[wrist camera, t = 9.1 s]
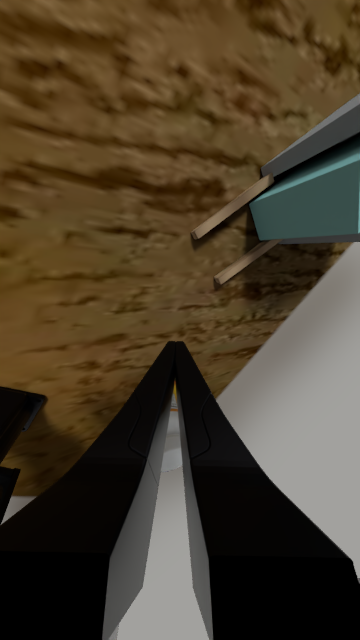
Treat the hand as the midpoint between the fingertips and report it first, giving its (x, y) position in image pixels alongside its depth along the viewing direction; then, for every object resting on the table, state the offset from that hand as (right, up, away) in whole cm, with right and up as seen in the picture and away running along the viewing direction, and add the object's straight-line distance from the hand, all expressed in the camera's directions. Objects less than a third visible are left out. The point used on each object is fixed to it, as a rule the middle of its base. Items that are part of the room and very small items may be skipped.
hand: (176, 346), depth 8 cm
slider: (+12, +15, +8) cm, 20 cm away
